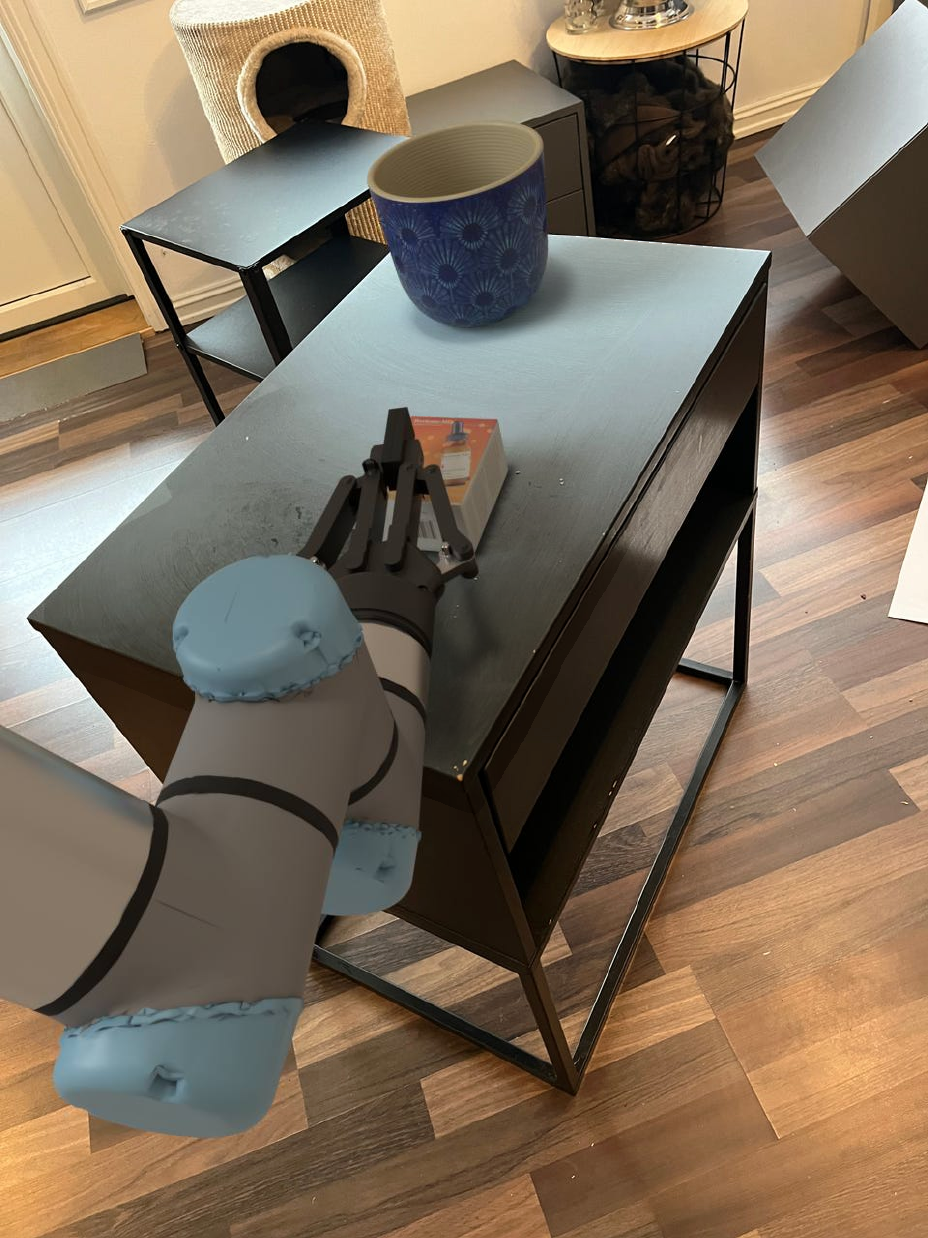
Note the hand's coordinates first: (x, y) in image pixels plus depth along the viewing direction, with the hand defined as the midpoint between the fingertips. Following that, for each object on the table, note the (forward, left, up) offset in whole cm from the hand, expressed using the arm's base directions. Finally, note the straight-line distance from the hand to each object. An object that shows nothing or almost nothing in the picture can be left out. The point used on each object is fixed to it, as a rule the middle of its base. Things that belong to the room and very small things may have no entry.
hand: (402, 422), depth 72 cm
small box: (+1, -6, -6) cm, 8 cm away
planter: (+4, +31, -9) cm, 33 cm away
